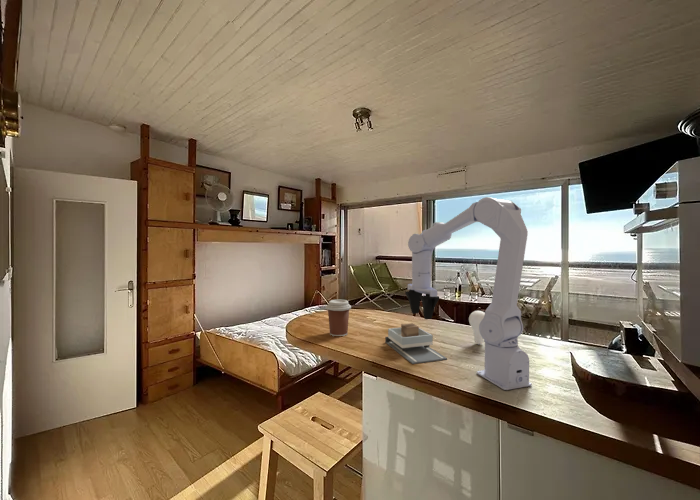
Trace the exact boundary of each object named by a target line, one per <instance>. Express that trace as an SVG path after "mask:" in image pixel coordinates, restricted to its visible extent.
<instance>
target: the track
mask: <svg viewBox="0 0 700 500" xmlns="http://www.w3.org/2000/svg"><path fill="white" fill-rule="evenodd" d="M384 341H385V342H384V343H385V344H387V345H388V346H389V347H390V348H392V349H393V350H394V351H395V352H396V353H398V354H399V355H400V356H401V357H403V358H404V359H405V360H407V361H408V362H409V363H410V364H412V365H416V364H423V363H424V364H426V363H431V362H432V363H433V362H437V361H438V362H439V361H444V360H445V361H447V360H448V358H447V356H445V355H443V354H441V353H440V352H438V351H436V350H435V349H433V348H432V347H430V346H429V348H425V347H424V346H417V347H409V348H407V350H404V351H403V350H402V348H401V347H400V346H399V345H397V344H396V343H395V342H393V343H392V342H391V339H389V338H388V336H385V338H384Z"/></svg>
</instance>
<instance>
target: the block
mask: <svg viewBox="0 0 700 500" xmlns="http://www.w3.org/2000/svg"><path fill="white" fill-rule="evenodd" d="M400 328H401V336H402V337H412V336H419V328H420V327H419V325H416V324H415V323H412V322H411V323H401V325H400Z"/></svg>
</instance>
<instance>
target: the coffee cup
mask: <svg viewBox="0 0 700 500" xmlns="http://www.w3.org/2000/svg"><path fill="white" fill-rule="evenodd" d="M325 309H326V310H327V315H328V316H327V317H328V325H329V335H330V336H331V335H332V336H331V337H334V336H343V337H346V336H348V333H349V331H348V329H349V320H350V319H349V317H350V310H352V305H350V303H349V301H348V300H347V299H331V300H329V301H328V304H327V305H326V306H325ZM345 335H346V336H345Z"/></svg>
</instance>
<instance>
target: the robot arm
mask: <svg viewBox="0 0 700 500" xmlns="http://www.w3.org/2000/svg"><path fill="white" fill-rule="evenodd" d="M521 213H522V208H520V206H518V204H516V203H515V202H514V201H513V200H509V199H501V198H500V199H499V198H498V199H497V198H493V197H491V196H490V197H489V196H487V197H483V198H480V199H479V200H478V201H475V202H473V203H471V205H470V206H469V207H467V208H466V209H465V210H464V211H462V212H460V213H458V214H457V215H456V216H454V217H453V218H451V219H450V220H448V221H447V222H443V221H441V222H439V221H438V222H437V221H435V222H433V223H432V225H433V226H430V227H429V228H428V229H423V230H422V231H421V233H420V234H419V233H413V234H412V235H410V237H409V238H408V240H407V245H408V249H409V251H410V252H411V261H412V262H411V283H407V290H408V291H405V292H404V293H405V296H406V298H407V299H408V302H409V306H410V311H411V313H412V314H419V313H420V309H421V307H420V305H422V310H423V318H424V320H432V318H433V314H434V312H435V309H436V305H437V303H438V302H439V300H440V296H438V290H437V289H435V288H434V287H433V286H432V256H433V251H434V249H435V248H436V247H437V246H440V245H441V244H443V243H445V242H447V241H449V240H450V239H451V238H452V234H454V233H456V232H458V231H460V230H462V229H465V228H466V227H468V226H470V225H472V224H475V223H481V224H482V225H484V226H485V227H488V228H490V229H491V230H492V231H493V232H494V233H495V234H496V235H497V236H498V237H499V240H500V241H499V247H498V248H499V249H498V255H497V256H498V257H497V263H496V270H495V277H494V283H493V290H492V291H493V292H492V298H491V302H490V304H489V305H488V307H487V308H486V309H485V311H484V313H485V315H484V318H483V320H482V321H481V322H480V325H479V331H480V334H481V336H482V338H483V343H484V369H482V370H477V371H476V374H478V376H480V377H482V378H483V379H486V381H489V382H491V383H492V384H493V385H495V386H497V387H499V388H500V389H502V390H504V391H508V390H514V389H519V388H525V387H531V386H532V385H533V384H532V383H533V382H532V383H531V381H530V357H529V355H528V353H527V352H525V351H524V350H522V349H521V348H520V346H519V341H518V338H519V336H521V335H522V333H523V331H524V324H523V321H522V310H521V309H520V308H519V306H518V300H519V293H520V288H521V287H520V286H521V282H522V281H521V280H522V273H523V266H524V261H525V260H524V259H525V253H526V247H527V241H528V234H529V233H528V228H527V226H526V223H525V221H524V218H523V216H522V214H521Z"/></svg>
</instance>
